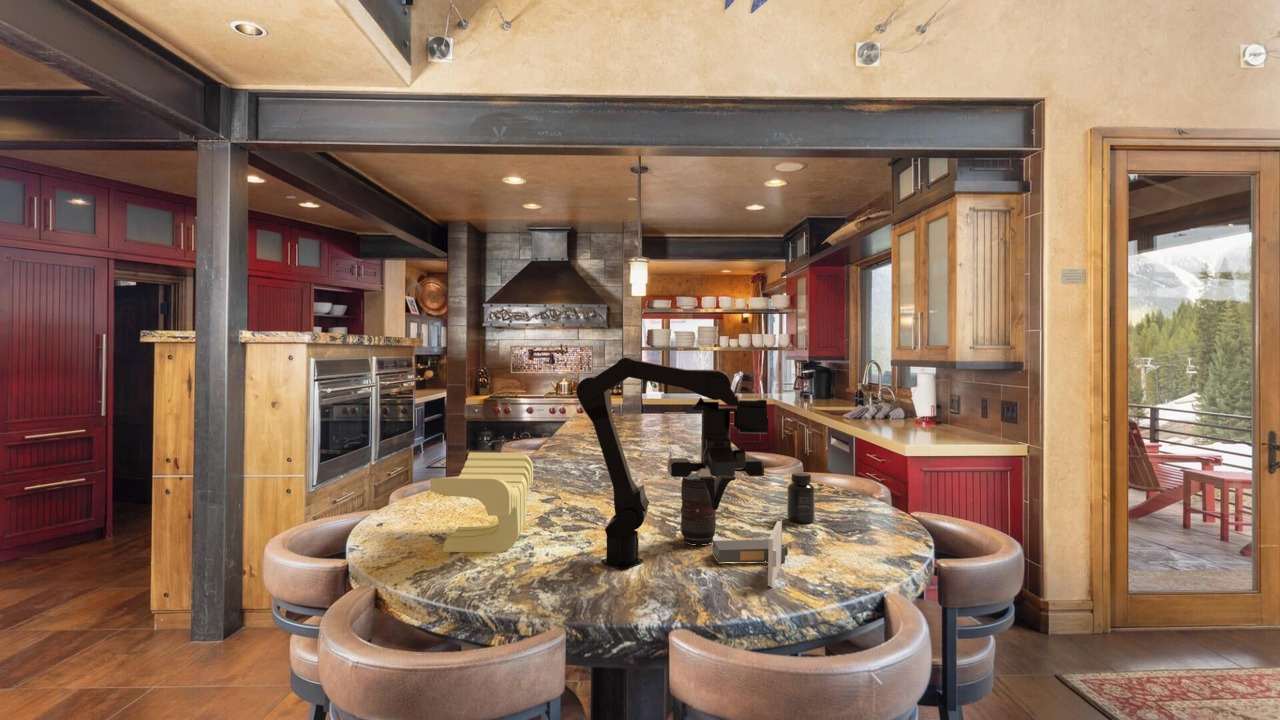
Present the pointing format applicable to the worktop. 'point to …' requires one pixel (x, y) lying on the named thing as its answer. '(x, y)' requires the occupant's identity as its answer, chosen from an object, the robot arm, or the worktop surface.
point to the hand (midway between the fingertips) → (714, 509)
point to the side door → (774, 552)
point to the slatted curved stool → (490, 499)
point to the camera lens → (696, 512)
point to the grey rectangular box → (744, 550)
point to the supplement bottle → (801, 499)
